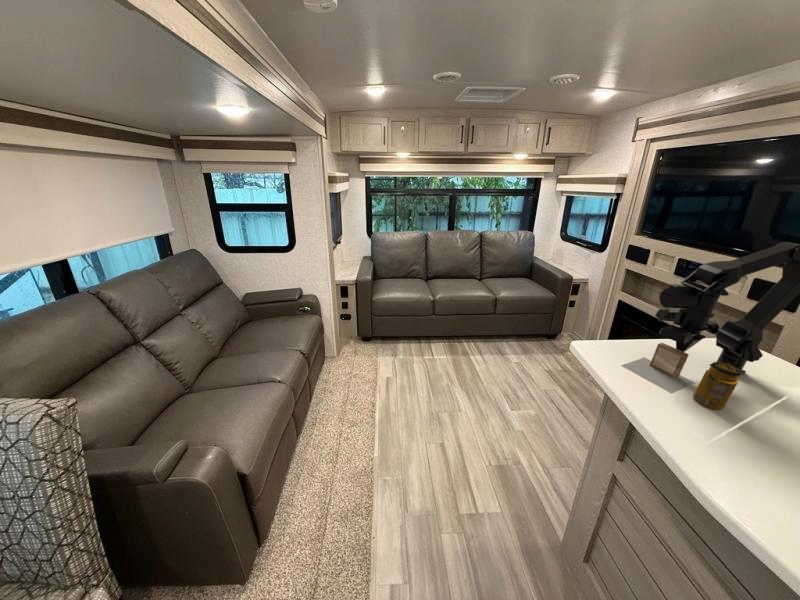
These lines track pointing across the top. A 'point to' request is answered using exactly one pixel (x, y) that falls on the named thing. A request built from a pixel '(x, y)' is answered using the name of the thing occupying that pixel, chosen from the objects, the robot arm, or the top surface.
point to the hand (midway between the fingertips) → (678, 353)
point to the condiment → (717, 385)
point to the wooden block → (668, 360)
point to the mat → (657, 375)
